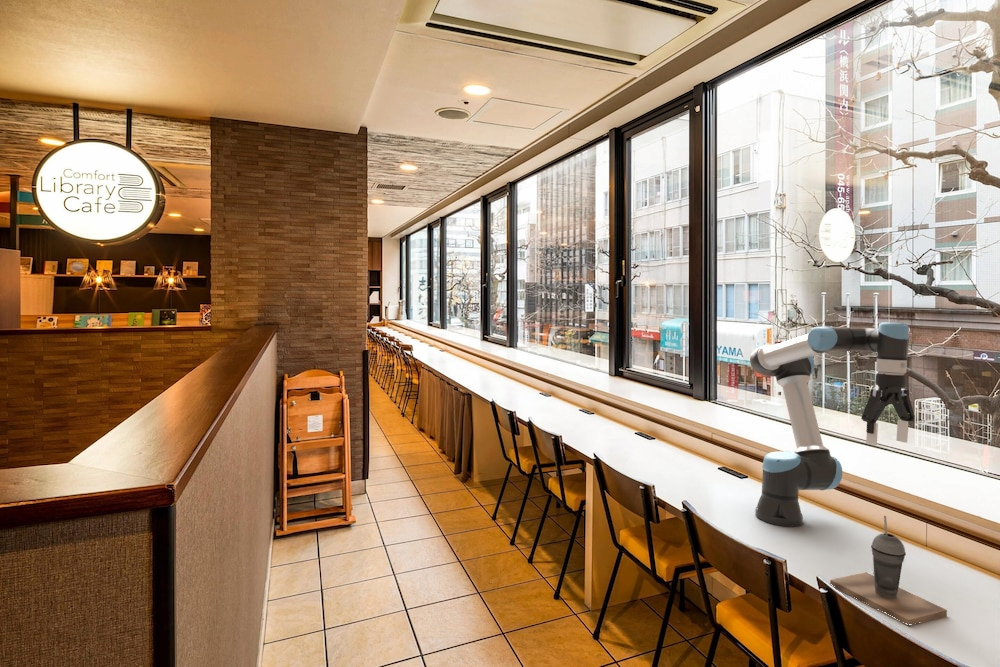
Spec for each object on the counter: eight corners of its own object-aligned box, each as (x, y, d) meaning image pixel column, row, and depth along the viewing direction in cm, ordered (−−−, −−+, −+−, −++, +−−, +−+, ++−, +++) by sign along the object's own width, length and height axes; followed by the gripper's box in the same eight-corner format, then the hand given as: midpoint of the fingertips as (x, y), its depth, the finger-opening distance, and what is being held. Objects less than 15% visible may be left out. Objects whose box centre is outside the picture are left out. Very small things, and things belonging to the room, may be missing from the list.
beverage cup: (891, 603, 135) (896, 524, 134) (862, 589, 141) (866, 514, 141) (909, 598, 138) (914, 520, 137) (880, 584, 144) (884, 510, 143)
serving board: (830, 585, 146) (830, 579, 146) (866, 577, 151) (866, 572, 151) (908, 626, 128) (908, 620, 128) (946, 616, 133) (947, 610, 133)
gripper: (875, 375, 156) (870, 448, 157) (931, 374, 165) (927, 443, 166) (850, 372, 163) (846, 442, 164) (905, 371, 172) (901, 437, 173)
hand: (886, 442), depth 165 cm, fingers open, 13 cm apart
